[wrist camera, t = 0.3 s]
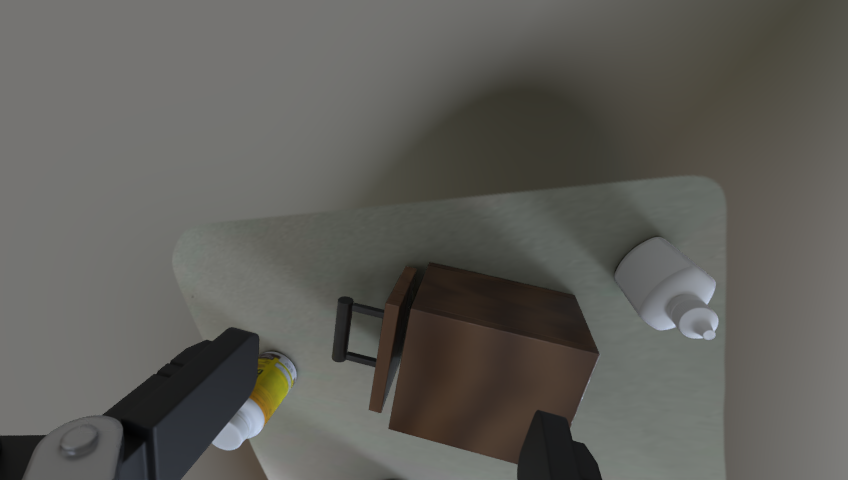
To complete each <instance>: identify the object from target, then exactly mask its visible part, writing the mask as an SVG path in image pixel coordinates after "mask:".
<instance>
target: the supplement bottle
mask: <svg viewBox="0 0 848 480" xmlns="http://www.w3.org/2000/svg"><path fill="white" fill-rule="evenodd" d="M296 376H297V375H296V369H295V367H294V365H293V363H292V362H291V361H290V360H289V359H288V358H287V357H286V356H284V355H282V354H280V353H277V352H265V353H262V354H260V355H259V356H258V373H257V381H256V384H255V387H254V389H253V392H252V393H251V395H250V397H249V398H248V400H247V401H246V402H245V403H244V404H243V406H242V407H241V408H240V409H239V410H238V412H237V413H236V414H235V415H234V416H233V418H232V419H231V420H230V421H229V422H228V424H227V425H226V426H225V427H224V428H223V430H222V431H221V432H220V433H219V434H218V436H217V437H216V438H215V439H214V440H213V442H212V444H214V445H215V446H217V447H218V448H221V449H224V450H234V449H236V448H238V447H239V446H240V445H241V444H242V442H243V441H244V440H245V439H247V438H252V437H254V436H256V435H257V434H258V433H259V432H260V431H261V430H262V428H263V427H264V426H265V424H266V423H267V421H268V420H269V419H270V417H271V416H272V414H273V413H274V412H275V410H276V409H277V407H278V406H279V405H280V403H281V402H282V400H283V399H284V398H285V396H286V395H287V393H288V392H289V391H290V389H291V388H292V386H293V385H294V383H295V381H296Z"/></svg>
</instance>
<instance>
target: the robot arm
mask: <svg viewBox="0 0 848 480" xmlns="http://www.w3.org/2000/svg"><path fill="white" fill-rule="evenodd" d="M258 354H259V336H258V335H257V334H256V333H252V332H248V331H245V330H241V329H237V328H234V327H231V328H228V329H227V330H226V331H224V332H223V333H222V334H221V335H220V336H218V337H217V338H216V339H215V340H214V341H209V340H205V341H202V342H201V343H198V344H196V345H194V346H191V347H189V348H186V349H185V350H184V351H183V352H181V353H180V354H179V355H177V356H176V357H175V358H174V359H172V360H171V362H170V364H166V365H165V366H164V367H162V368H161V369H160V370H159V371H158V372H157V374H153V375H152V376H151V377H150V378H148V379H147V380H146V381H145V382H144V383H142V384H141V385H140V386H138V387H137V388H136V389H135V390H133V391H132V392H131V393H130V394H128V395H127V396H126V397H124V398H123V399H122V400H121V401H119V402H118V403H117V404H116V405H114V406H113V407H112V408H111V409H109V410H108V411H107V412H106V413H104V414H103V415H98V416H88V417H83V418H79V419H76V420H73V421H70V422H68V423H66V424H64V425H62V426H60V427H58V428H56V429H55V430H53V431H52V432H50V433H49V434H48V435H40V436H39V435H27V436H0V480H181V479H182V477H183V476H184V475H185V474H186V473H187V471H188V470H189V469H190V468H191V467H192V465H193V464H194V463H195V462H196V461H197V460H198V458H199V457H200V456H201V455H202V453H203V452H204V451H205V450H206V449H207V447H208V446H209V445H210V444H211V443H212V442H213V440H214V439H215V438H216V437H217V436H218V434H219V433H220V432H221V431H222V430H223V428H224V427H225V426H226V425H227V424H228V422H229V421H230V420H231V419H232V418H233V416H234V415H235V414H236V413H237V412H238V410H239V409H240V408H241V407H242V406H243V404H244V403H245V402H246V401H247V400H248V398H249V397H250V395H251V393H252V392H253V389H254V387H255V384H256V381H257V373H258ZM517 479H518V480H602V478H601V474H600V471H599V467H598V464H597V462H596V460H595V459H594V458H593V456H592V455H591V453H590V452H589V450H588V449H587V447H586V446H585V444H583V443H580V442H576V441H573V440H572V436H571V432H570V428H569V423H568V420H567V418H566V417H563V416H559V415H555V414H552V413H548V412H544V411H541V410H537V411H536V412H535V414H534V416H533V419H532V422H531V424H530V427H529V430H528V432H527V435H526V438H525V440H524V443H523V446H522V448H521V451H520V455H519V460H518V468H517Z"/></svg>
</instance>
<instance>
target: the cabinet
mask: <svg viewBox="0 0 848 480" xmlns="http://www.w3.org/2000/svg"><path fill="white" fill-rule="evenodd" d="M599 355H600V354H599V351H598V349H597V347H596V345H595V342H594V340H593V337H592V335H591V333H590V330H589V328H588V325H587V323H586V321H585V318H584V316H583V313H582V311H581V309H580V306H579V304H578V302H577V299H576V297H575V295H571V294H566V293H562V292H558V291H553V290H549V289H545V288H540V287H536V286H531V285H527V284H523V283H518V282H514V281H510V280H505V279H501V278H497V277H492V276H488V275H483V274H479V273H475V272H470V271H466V270H462V269H457V268H453V267H449V266H444V265H440V264H436V263H431V262H429V264H428V267H427V269H426V272H425V274H424V277H423V279H422V282H421V284H420V287H419V289H418V292H417V294H416V297H415V299H414V302H413V304H412V307H411V310H410V315H409V320H408V326H407V331H406V337H405V342H404V347H403V353H402V358H401V364H400V369H399V374H398V380H397V385H396V391H395V396H394V401H393V407H392V412H391V417H390V423H389V429H391V430H394V431H398V432H402V433H405V434H409V435H413V436H416V437H420V438H424V439H427V440H431V441H434V442H438V443H442V444H445V445H449V446H453V447H456V448H460V449H464V450H467V451H471V452H475V453H478V454H482V455H486V456H489V457H493V458H497V459H500V460H504V461H507V462H511V463H515V464H518V460H519V455H520V451H521V448H522V446H523V443H524V440H525V438H526V435H527V432H528V430H529V427H530V424H531V422H532V419H533V416H534V414H535V412H536V411H537V410H541V411H544V412H548V413H552V414H555V415H559V416H563V417H566V418H567V420H568V423H569V428H570V427H571V424H572V422H573V419H574V417H575V414H576V412H577V409H578V407H579V405H580V402H581V400H582V397H583V395H584V392H585V390H586V387H587V385H588V382H589V380H590V377H591V375H592V372H593V370H594V368H595V365H596V363H597V360H598V358H599Z"/></svg>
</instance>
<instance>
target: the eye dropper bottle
mask: <svg viewBox="0 0 848 480" xmlns="http://www.w3.org/2000/svg"><path fill="white" fill-rule="evenodd" d="M614 280H615V281H616V283H617V284H618V286H619V287H620V289H621V290H622V292H623V293H624V295H625V296H626V298H627V299H628V301H629V302H630V303H631V305H632V306H633V308H634V309H635V311H636V312H637V313H638V315H639V316H640V317H641V318H642V319H643V320H644V321H645V322H646V323H647V324H649V325H650V326H651V327H653V328H655V329H657V330H667V329H671V328H674V327H677V328H678V329H679V330H680V332H681V333H682V334H683V335H685V336H687V337H689V338H695V339H696V338H697V339H698V338H705V339H707V340H711V339H713V338H714V337H715V335H716V334H715V332H714V331H715V330H716V328H717V326H718V323H719V322H718V317H717V314H716V313H715V312H714V311H713V310H712V309H711V308H710V307H709V306H708V305H707V304H708V302H709V301H710V299H711V297H712V295H713V293H714V290H715V285H716V283H715V281H714V279H713V278H712V277H711V276H710V275H709V274H708V273H707V272H705V271H704V270H703V269H702V268H701V267H699V266H698V265H697V264H696V263H694V262H693V261H692V260H691V259H690V258H688V257H687V256H686V255H685V254H683V253H682V252H681V251H680V250H678V249H677V248H676V247H675V246H673V245H672V244H671V243H669V242H668V241H667V240H666V239H664V238H662V237H654V238H651V239H649V240H647V241H645V242H643V243H641V244H640V245H638V246H636V247H635V248H634V249H633V250H631V251H630V252H629V253H628V254H627V255H626V256H625V257H624V259H623V260H622V261H621V263H620V264H619V266H618V268H617V270H616V272H615V275H614Z"/></svg>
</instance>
